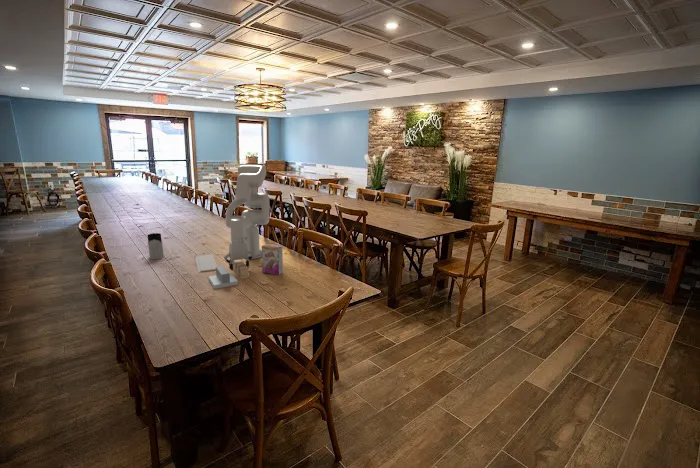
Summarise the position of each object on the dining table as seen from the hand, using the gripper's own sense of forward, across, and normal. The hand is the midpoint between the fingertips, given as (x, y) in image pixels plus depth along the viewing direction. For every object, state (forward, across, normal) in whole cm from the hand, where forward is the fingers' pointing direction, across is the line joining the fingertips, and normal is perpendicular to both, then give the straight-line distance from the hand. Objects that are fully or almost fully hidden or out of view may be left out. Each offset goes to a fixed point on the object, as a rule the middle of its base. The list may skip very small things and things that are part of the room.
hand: (239, 268), depth 201 cm
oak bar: (+2, 0, 0) cm, 2 cm away
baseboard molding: (+3, +15, -25) cm, 29 cm away
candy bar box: (+2, -16, +11) cm, 20 cm away
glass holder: (+2, +39, -55) cm, 67 cm away
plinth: (+2, +12, +12) cm, 17 cm away
